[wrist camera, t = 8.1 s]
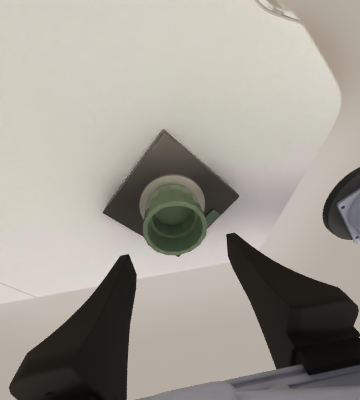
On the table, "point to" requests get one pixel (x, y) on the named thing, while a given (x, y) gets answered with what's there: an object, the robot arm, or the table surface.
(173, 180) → the scale
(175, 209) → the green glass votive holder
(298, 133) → the table surface
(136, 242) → the table surface
